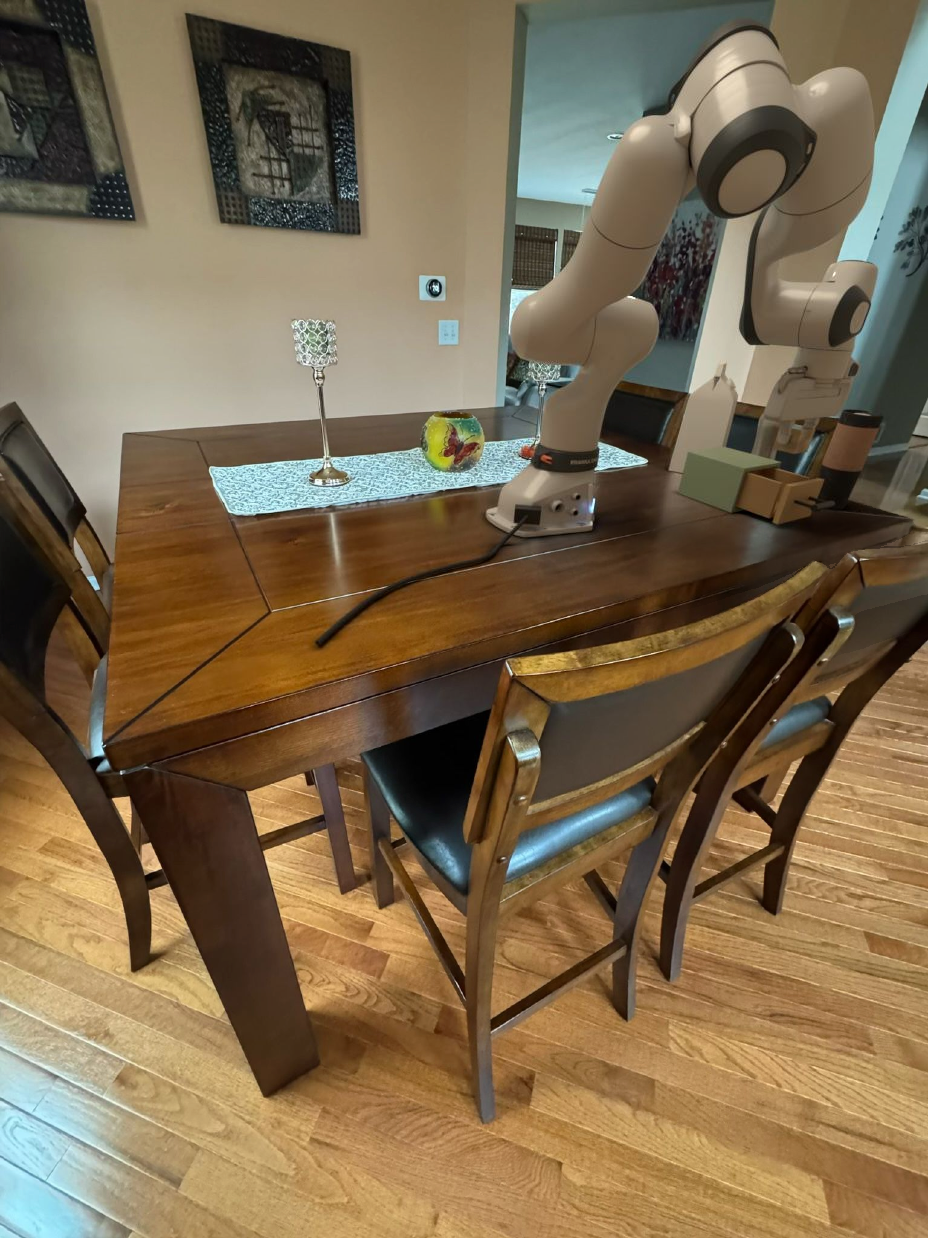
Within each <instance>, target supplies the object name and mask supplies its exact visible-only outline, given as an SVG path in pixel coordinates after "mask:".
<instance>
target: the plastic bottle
mask: <svg viewBox="0 0 928 1238" xmlns="http://www.w3.org/2000/svg"><path fill="white" fill-rule="evenodd" d="M779 424H780V422H775V421H770V420H766V419H765V418H764V412H763V413H762V414H761V416H760V417H759V419H758V424H757V429H756V434H755V435H756V436H755V439H754V445H753V448H752V450H751V452H750V454H753V455H757V456H760V457H764V458H768V459H771V460H775V461H776V458H777V457H776V456H777V454H778V453H777V452H778V450H776V449H773V448H774V444H775V441H776V438H777V435H778V432H779V429H780V427H779Z"/></svg>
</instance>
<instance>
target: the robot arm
mask: <svg viewBox="0 0 928 1238" xmlns="http://www.w3.org/2000/svg"><path fill="white" fill-rule="evenodd" d="M673 95H674V97H673ZM672 99H673V101H672ZM666 101H667V102H666V114H663V115H661V114H660V115H659V114H658V115H657V114H655V115H652V114H651V115H647V116H644V117H641V118H640V119H638V120H636V121H634V122H633V123H632V124H631V125H630V126H629V127H628V128H627V129H626V130H625V131H624V132H623V134H622V136H621V138H620V140H619V142H618V143H617V145H616V147H615V148H614V151H613V154H612V155H611V157H610V159H609V161H608V163H607V165H606V168H605V169H604V172H603V174H602V177H601V178H600V181H599V184H598V187H597V190H596V192H595V195H594V198H593V200H592V203H591V206H590V209H589V213H588V216H587V217H586V221H585V223H584V227H583V230H582V232H581V235H580V237H579V240H578V242H577V245H576V248H575V249H574V252H573V254H572V256H571V257H570V259H569V261H568V262H567V263H566V265H565V266H564V267H563V268H562V269H561V271H560V272H559V273H558V274H557V275H556V276H555V277H554V278H553V279H552V280H551V281H550V282H548V283H547V284H546V285H544V286H543V287H542V288H540V289H538V290H537V291H535V292H533V293H531V294H528V295H526V296H525V297H523V299H522V300H520V302H519V303H518V304H517V306H516V307H515V309H514V311H513V313H512V316H511V320H510V325H509V336H510V342H511V345H512V348H513V350H514V352H515V353H516V355H517V356H518V358H520V359H521V360H524V361H528V362H530V363H536V364H539V365H543V366H568V367H569V366H570V367H571V366H572V367H574V366H575V367H576V366H577V367H578V371H577V373H576V375H575V376H574V378H573V379H572V381H571V382H570V383H568V384H566V385H564V386H562V387H560V388H557V389H556V390H555V391H553V392H552V393H551V394H550V395H549V396H548V397H547V399H546V400H545V402H544V405H543V411H542V419H541V428H540V429H541V430H540V437H539V441H538V442H537V444H536V447H535V448H533V447H530V446H529V445H523V446H522V448H521V450H520V452H521V453H520V454H521V456H522V457H525V458H527V459H530V463H529V464H528V465H527V466H525V467H524V468H523V469H522V470H521V471H520V472H518V473H517V475H515V476H514V477H513V478H512V479H510V480H509V481H508V482H506V484H505V485H503V486H502V487H501V491H500V494H499V497H498V501H497V506H495V507H492V508H488V509H486V512H485V519H487V521H488V522H489V523H491V524H492V525H493V526H495V527H497V528H498V529H500V530H502V531H503V532H506V533H507V534H506V535H505V536H504V537H503V538H502V539H501V540H500V541H499V542H498V543H497V545H496V546H494V548H493V549H492V550H491V551H489V553H487V554H485V555H482V556H479V557H476V558H472V559H468V560H463V561H458V562H454V563H450V564H447V565H443V566H439V567H436V568H432V569H429V570H425V571H422V572H418V573H416V574H413V575H410V576H408V577H405V578H403V579H401V580H398V581H395V582H394V583H392V584H390V585H387V586H385V587H383V588H381V589H380V590H378V591H376V592H374V593H373V594H372V595H370V596H368V597H367V598H365V599H364V600H362V601H361V602H360V603H359V604H357V605H356V606H355V607H353V609H351V610H349V612H347V613H346V614H345V615H343V616H342V617H341V618H339V620H338V621H336V622H335V623H334V624H333V625H332V626H331V627H330V628H329V629H327V630H326V631H325V632H324V633H323V634H322V635H320V636H319V638H317V639H316V640H315V642H314V643H315V645H316V646H321V645H322V644H323V643H324V642H326V640H327V639H329V638H330V637H331V636H332V635H333V634H334V633H335V632H336V631H337V630H339V629H340V628H341V627H342V626H343V625H344V624H345V623H347V622H348V621H349V620H350V619H351V618H353V616H355V615H356V614H357V613H359V612H360V611H361V610H362V609H364V608H366V606H367V605H369V604H371V602H373V601H375V600H376V599H378V598H379V597H381V596H383V595H385V594H386V593H388V592H390V591H392V590H394V589H397V588H398V587H401V586H403V585H405V584H407V583H410V582H413V581H415V580H418V579H421V578H424V577H427V576H430V575H434V574H438V573H441V572H442V573H443V572H445V571H449V570H452V569H455V568H460V567H465V566H469V565H474V564H477V563H481V562H483V561H487V560H488V559H490V558H492V557H493V556H494V555H496V554H497V552H498V551H499V550H500V548H502V546H504V544H506V543H507V542H508V540H509V539H511V537H512V536H517V537H521V538H533V537H543V536H553V535H563V534H570V533H571V534H572V533H573V534H574V533H582V532H591V531H592V530H593V527H594V523H593V522H594V521H595V518H596V517H595V512H594V511H595V510H594V508H595V503H596V502H595V501H596V498H594V489H595V487H594V486H595V471H596V470H595V469H596V468H597V467H598V463H599V459H600V451H601V450H600V447H599V442H600V438H601V437H600V436H601V431H602V427H603V422H604V417H605V414H606V410H607V406H608V405H609V404H608V403H609V401H610V399H611V396H612V395H613V393H614V391H615V390H616V388H617V386H618V385H619V383H620V382H621V381H622V380H623V379H624V377H625V376H626V375H627V374H628V373H629V372H630V371H631V370H632V369H634V367H636V366H637V365H639V364H640V363H642V362H643V361H644V360H645V359H647V358H648V356H649V355H650V354H651V352H652V351H653V349H654V347H655V345H656V343H657V341H658V337H659V332H660V321H659V316H658V312H657V310H656V308H655V306H654V305H653V304H652V303H651V302H649V301H646V300H643V299H641V298H638V297H633V296H630V295H632V294H633V293H634V292H635V291H637V290H638V288H639V287H640V286H641V285H642V283H643V282H644V280H645V279H646V276H647V275H648V272H649V270H650V268H651V265H652V264H653V262H654V259H655V257H656V256H657V254H658V251H659V249H660V247H661V245H662V244H663V243H662V242H663V240H664V239H665V237H666V234H667V232H668V230H669V228H670V226H671V223H672V221H673V219H674V216H675V213H676V212H677V209H678V207H680V205H681V203H682V202H683V201H684V199H685V198H686V197H687V195H689V194H690V192H691V191H692V190H693V189H695V188H697V192H698V195H699V196H700V199H701V201H702V203H703V204H704V206H705V207H706V209H707V210H708V211H709V212H710V213H711V214H712V215H714V216H715V217H716V218H719V219H722V220H734V219H739V218H743V217H746V216H749V215H751V214H754V213H756V212H759V211H760V213H759V215H758V217H757V219H756V220H755V223H754V225H753V228H752V229H751V230H752V231H751V233H750V237H749V241H748V249H747V255H746V256H747V257H746V264H745V265H746V266H745V275H744V277H745V279H744V290H743V301H742V306H741V311H740V315H739V322H738V331H739V333H740V335H741V337H742V338H743V339H744V341H745V342H746V343H747V344H748V345H749V346H782V347H792V348H793V347H794V348H797V350H796V353H795V356H794V359H793V362H792V366H791V367H788V368H787V369H786V371H785V372H784V373H783V374H781V375H780V378H778V380H777V381H776V382H775V384H774V386H773V388H772V390H771V392H770V394H769V397H768V399H767V403H766V406H765V407H764V411H763V413H764V418H765V419H766V420H770V421H775V422H780V424H779V427H780V436H779V439H778V442H779V443H781V444H789V443H790V442H791V439H792V437H793V435H791V430H792V426H794V424H796V422H797V421H803V422H804V423H803V426H805V427H810V428H815V429H816V427H817V426H818V424H819V422H820V420H821V419H823V418H830V417H836V416H838V415H839V414H840V412H842V411H843V409H844V406H845V404H846V401H847V399H848V397H849V395H850V393H851V390H852V386H853V383H854V379H853V378H856V377H857V376H859V374H860V371H861V367H862V366H861V364H860V363H858V362H857V361H856V360H855V359H854V357H852V355H853V352H854V350H855V345H856V339H857V336H858V335H859V334H860V333H862V330H863V328H864V326H865V323H866V322H867V318H868V317H869V312H870V310H871V307H872V300H873V298H874V297H873V296H874V294H875V293H874V292H875V288H876V285H877V280H878V274H879V267H878V266H877V265H876V264H874V263H873V262H870V261H865V260H859V259H845V260H844V259H843V260H840V261H836V262H833V263H832V264H830V265H829V267H828V268H827V270H826V272H825V274H824V275H823V278H822V280H821V282H820V281H819V282H818V281H817V282H816V281H815V282H814V281H812V282H811V281H806V282H805V281H788V280H784V279H781V278H779V277H778V273H779V267H780V261H781V260H784V259H786V258H788V257H792V256H796V255H800V254H805V253H809V252H813V251H814V250H817V249H819V248H821V247H823V246H825V245H827V244H828V243H830V242H831V241H833V240H834V239H835V238H837V237H838V236H840V235H841V234H842V233H843V232H844V231H845V230H846V229H847V228H848V227H850V225H851V224H852V223H853V222H855V220H856V218H858V216H859V214H861V211H862V210H863V208H864V207H865V204H866V202H867V199H868V196H869V193H870V189H871V186H872V180H873V174H874V164H875V149H876V148H875V147H876V126H875V116H874V115H875V112H874V106H873V100H872V95H871V90H870V86H869V82H868V80H867V79H866V77H865V76H864V74H863V73H862V72H861V71H860V70H857V69H856V68H854V67H853V68H852V67H849V66H838V67H833V68H829V69H825V70H823V71H821V72H819V73H817V74H815V75H814V76H812V77H810V78H808V79H807V80H806V81H805V82H803V83H802V84H794V83H792V79H791V76H790V73H789V71H788V67H787V65H786V63H785V60H784V58H783V56H782V54H781V52H780V45H779V42H778V40H777V37H776V36H775V35H774V33H773V32H772V31H771V30H770V28H768V26H767V25H765V24H764V23H762V21H760V20H758V19H755V18H752V17H747V16H745V17H743V16H742V17H738V18H734V19H731V20H729V21H727V22H726V23H724V24H722V25H721V26H719V27H718V28H717V29H716V30H715V31H713V32H712V33H711V35H709V37H707V38H706V40H705V41H704V42H703V43H702V44H701V46H700V47H699V48H698V49H697V51H696V52H695V53H694V55H693V57H692V58H691V60H690V61H689V63H688V65H687V67H686V69H685V70H684V73H683V74H682V75H681V76H680V77H679V78H678V80H677V81H676V82H674V84H673V86H672V87H671V89H670V91H669V94H668V97H667V100H666Z"/></svg>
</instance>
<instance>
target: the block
mask: <svg viewBox="0 0 928 1238" xmlns="http://www.w3.org/2000/svg"><path fill="white" fill-rule="evenodd" d="M815 432H816V427H815V428H810V427H805V426H804V425H801V424H800V425H799V424H796V423H795V424H794V426H792V430H791V435H793V437H792V439H791V442H790V443H789V444H781V443H779V442H778V439H779V436H780V429H779V432H778V435H777V438H776V441H775V444H774V448H773V449H776V450H777V451H780V452H785V453H788V454H790V455H791V454H792V455H797V454H803V453H808V451H809V449H810V446H811V443H812V440H813V437H814V435H815Z"/></svg>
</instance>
